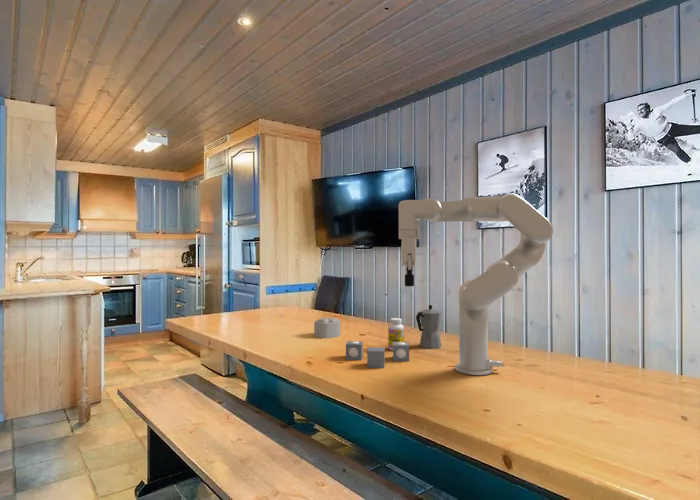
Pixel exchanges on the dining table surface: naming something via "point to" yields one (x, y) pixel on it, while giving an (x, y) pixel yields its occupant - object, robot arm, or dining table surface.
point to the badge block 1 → (354, 350)
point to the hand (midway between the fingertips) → (409, 285)
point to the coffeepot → (429, 328)
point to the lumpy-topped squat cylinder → (327, 328)
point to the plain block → (375, 357)
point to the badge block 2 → (400, 351)
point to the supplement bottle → (395, 332)
